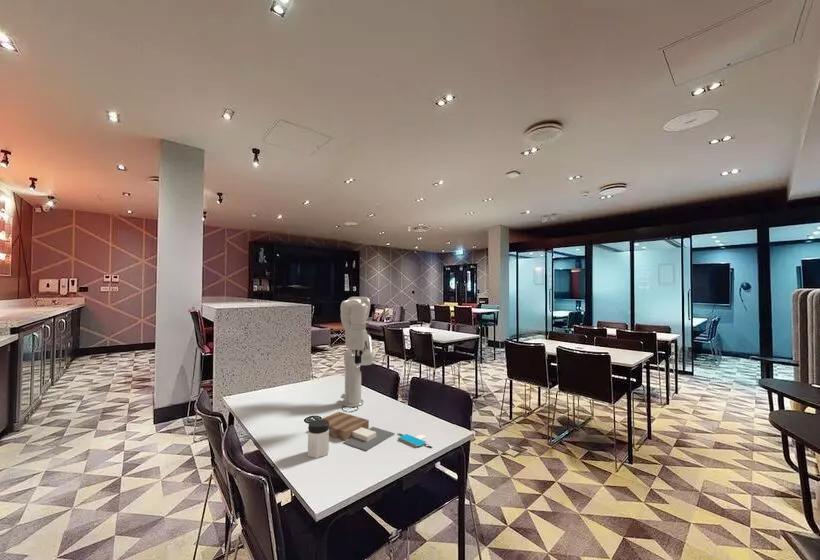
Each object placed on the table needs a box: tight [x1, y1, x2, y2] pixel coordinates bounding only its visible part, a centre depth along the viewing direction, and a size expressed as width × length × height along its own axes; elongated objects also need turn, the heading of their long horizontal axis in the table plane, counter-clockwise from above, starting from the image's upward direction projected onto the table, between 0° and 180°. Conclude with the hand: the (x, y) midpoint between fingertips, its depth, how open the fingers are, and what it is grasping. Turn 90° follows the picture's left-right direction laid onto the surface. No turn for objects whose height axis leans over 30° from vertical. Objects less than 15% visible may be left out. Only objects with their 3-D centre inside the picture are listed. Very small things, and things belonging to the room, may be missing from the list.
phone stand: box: [397, 432, 428, 448], centre depth 148 cm, size 20×12×2 cm, turn 47°
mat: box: [343, 426, 395, 452], centre depth 149 cm, size 13×20×1 cm, turn 147°
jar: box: [307, 418, 330, 459], centre depth 135 cm, size 9×8×12 cm
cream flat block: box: [352, 427, 376, 441], centre depth 150 cm, size 9×6×2 cm, turn 55°
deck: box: [318, 411, 370, 442], centre depth 158 cm, size 20×16×4 cm
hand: (357, 363), depth 170 cm, fingers closed
